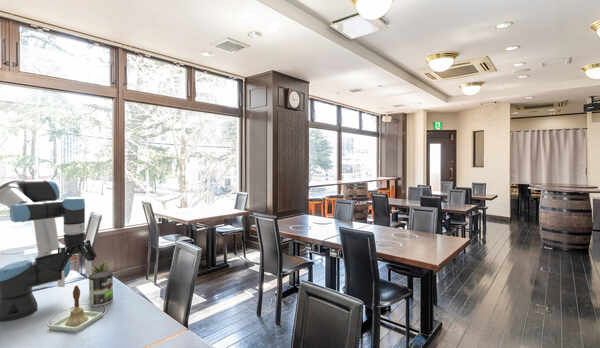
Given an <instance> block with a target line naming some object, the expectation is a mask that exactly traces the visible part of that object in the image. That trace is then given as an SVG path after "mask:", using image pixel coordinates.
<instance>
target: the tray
mask: <svg viewBox="0 0 600 348" xmlns="http://www.w3.org/2000/svg"><path fill="white" fill-rule="evenodd" d="M83 311H84V314H85V315H86V316H87V317H88V320H87V321H86V322H85V323H83V324H80V325H77V326H66V325H65V323H66V321H67V320H68V319H69V317H70V314H68V315H66V316H65V317H64V316H63V318H60V319H59V320H57V321H55V322H53V323H52V324H51V323H50V324H49V325H48V330H49V331H57V332H69V333H75V334H76V333H79V332H81V331H82V330H83V329H85V328H87V327H88V326H90V325H91V324H93V323H95V322H96V321H98V320H99V319H101V318H103V317H104V312H102V311H101V312H99V311H91V310H89V311H88V310H83Z"/></svg>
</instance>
